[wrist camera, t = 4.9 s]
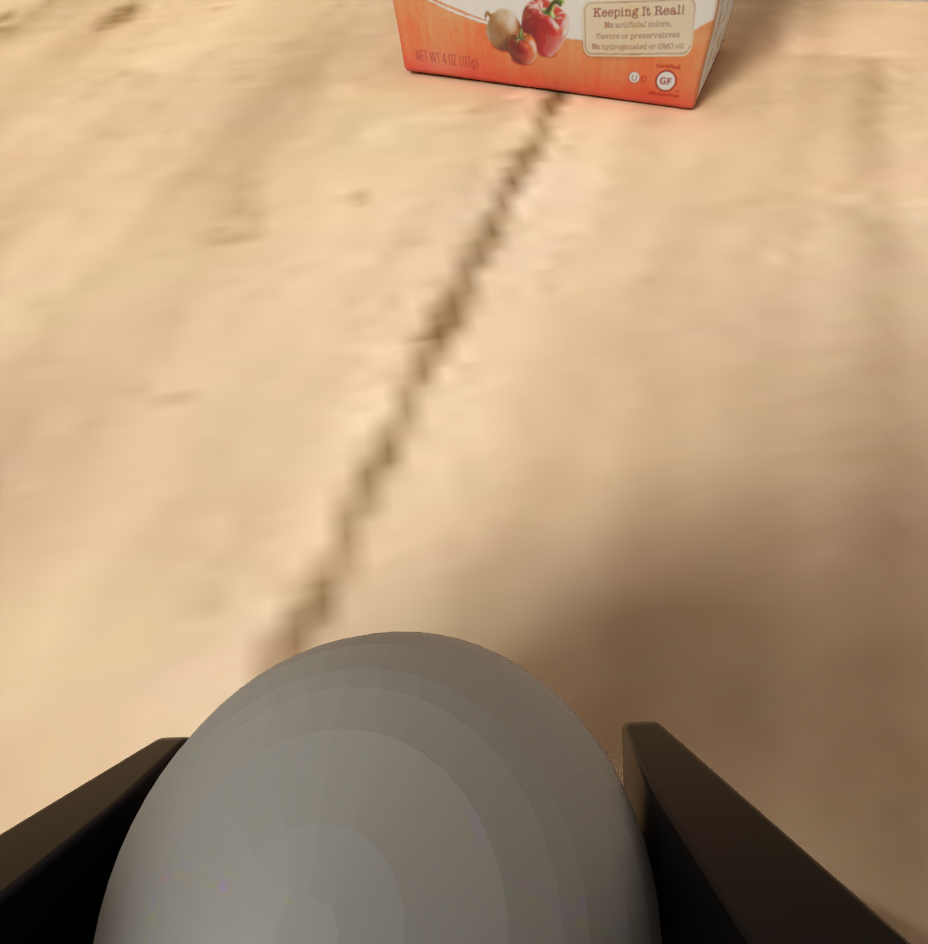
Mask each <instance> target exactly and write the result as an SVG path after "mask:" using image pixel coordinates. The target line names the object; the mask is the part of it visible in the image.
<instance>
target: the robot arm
mask: <svg viewBox="0 0 928 944" xmlns="http://www.w3.org/2000/svg"><path fill="white" fill-rule="evenodd" d="M188 739H189V737H173V738H161V739H158V740H156V741H155V742H153V743H151V744H150V745H148V746H146V747H145V748H143V749H141V750H140V751H138V752H136V753H135V754H133V755H131V756H130V757H128V758H126V759H125V760H123V761H121V762H120V763H118V764H116V765H115V766H113V767H112V768H110V769H108V770H107V771H105V772H103V773H102V774H100V775H98V776H97V777H95V778H93V779H92V780H90V781H88V782H87V783H85V784H83V785H82V786H80V787H78V788H77V789H75V790H73V791H72V792H70V793H69V794H67V795H65V796H64V797H62V798H60V799H59V800H57V801H55V802H54V803H52V804H50V805H49V806H47V807H45V808H44V809H42V810H40V811H39V812H37V813H35V814H34V815H32V816H30V817H29V818H27V819H26V820H24V821H22V822H21V823H19V824H17V825H16V826H14V827H12V828H11V829H9V830H7V831H6V832H4V833H2V834H1V835H0V944H93V942H94V937H95V932H96V927H97V923H98V918H99V913H100V909H101V906H102V902H103V899H104V895H105V892H106V888H107V885H108V881H109V879H110V876H111V873H112V871H113V868H114V865H115V862H116V860H117V857H118V854H119V851H120V849H121V847H122V845H123V842H124V840H125V838H126V836H127V834H128V831H129V829H130V827H131V825H132V823H133V821H134V819H135V817H136V815H137V813H138V811H139V810H140V808H141V806H142V804H143V802H144V800H145V798H146V797H147V795H148V794H149V792H150V790H151V789H152V787H153V786H154V784H155V783H156V781H157V779H158V778H159V776H160V775H161V773H162V772H163V771H164V769H165V768H166V766H167V765H168V764H169V762H170V761H171V760H172V758H173V757H174V756H175V754H176V753H177V752H178V751H179V749H180V748H181V747H182V746H183V745H184V744H185V742H186V741H187V740H188ZM622 740H623V779H624V789H625V791H626V793H627V796H628V798H629V800H630V802H631V805H632V807H633V809H634V812H635V815H636V817H637V820H638V823H639V826H640V829H641V832H642V835H643V837H644V840H645V844H646V848H647V852H648V856H649V860H650V863H651V867H652V871H653V877H654V882H655V888H656V894H657V899H658V906H659V916H660V927H661V937H662V944H910V943H909V942H908V941H907V940H906V939H905V938H904V937H902V936H901V935H900V934H899V933H898V932H897V931H896V930H894V929H893V928H892V927H891V926H890V925H889V924H888V923H886V922H885V921H884V920H883V919H882V918H881V917H880V916H878V915H877V914H876V913H875V912H874V911H873V910H872V909H870V908H869V907H868V906H867V905H866V904H865V903H864V902H862V901H861V900H860V899H859V898H858V897H857V896H856V895H854V894H853V893H852V892H851V891H850V890H849V889H848V888H846V887H845V886H844V885H843V884H842V883H841V882H840V881H838V880H837V879H836V878H835V877H834V876H833V875H832V874H830V873H829V872H828V871H827V870H826V869H825V868H824V867H822V866H821V865H820V864H819V863H818V862H817V861H816V860H814V859H813V858H812V857H811V856H810V855H809V854H808V853H806V852H805V851H804V850H803V849H802V848H801V847H800V846H798V845H797V844H796V843H795V842H794V841H793V840H792V839H790V838H789V837H788V836H787V835H786V834H785V833H784V832H782V831H781V830H780V829H779V828H778V827H777V826H776V825H774V824H773V823H772V822H771V821H770V820H769V819H768V818H766V817H765V816H764V815H763V814H762V813H761V812H760V811H758V810H757V809H756V808H755V807H754V806H753V805H752V804H750V803H749V802H748V801H747V800H746V799H745V798H744V797H742V796H741V795H740V794H739V793H738V792H737V791H736V790H734V789H733V788H732V787H731V786H730V785H729V784H728V783H726V782H725V781H724V780H723V779H722V778H721V777H720V776H718V775H717V774H716V773H715V772H714V771H713V770H712V769H710V768H709V767H708V766H707V765H706V764H705V763H704V762H702V761H701V760H700V759H699V758H698V757H697V756H696V755H694V754H693V753H692V752H691V751H690V750H689V749H688V748H686V747H685V746H684V745H683V744H682V743H681V742H680V741H678V740H677V739H676V738H675V737H674V736H673V735H672V734H670V733H669V732H668V731H667V730H666V729H665V728H664V727H662V726H661V725H660V724H658V723H656V722H628V723H626V724H625V725H624V727H623V731H622Z"/></svg>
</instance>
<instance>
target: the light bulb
mask: <svg viewBox="0 0 928 944" xmlns="http://www.w3.org/2000/svg"><path fill="white" fill-rule="evenodd" d="M93 944H662V937H661V927H660V916H659V906H658V899H657V894H656V888H655V882H654V877H653V871H652V867H651V863H650V860H649V856H648V852H647V848H646V844H645V840H644V837H643V835H642V832H641V829H640V826H639V823H638V820H637V817H636V815H635V812H634V809H633V807H632V805H631V802H630V800H629V798H628V796H627V793H626V791H625V789H624V787H623V784H622V782H621V780H620V779H619V777H618V775H617V773H616V771H615V770H614V768H613V766H612V764H611V762H610V761H609V759H608V757H607V756H606V754H605V753H604V751H603V750H602V748H601V747H600V745H599V744H598V742H597V741H596V739H595V738H594V736H593V735H592V733H591V732H590V731H589V730H588V728H587V727H586V726H585V725H584V723H583V722H582V721H581V720H580V719H579V717H578V716H577V715H576V714H575V713H574V712H573V711H572V710H571V709H570V707H569V706H568V705H567V704H566V703H565V702H564V701H563V700H562V699H561V698H560V697H559V696H558V695H557V694H555V693H554V692H553V691H552V690H551V689H550V688H549V687H547V686H546V685H545V684H544V683H543V682H542V681H540V680H539V679H538V678H536V677H535V676H533V675H532V674H531V673H529V672H528V671H526V670H525V669H523V668H522V667H521V666H519V665H517V664H515V663H514V662H512V661H510V660H508V659H507V658H505V657H503V656H501V655H499V654H497V653H495V652H492V651H490V650H488V649H486V648H483V647H481V646H479V645H476V644H472V643H469V642H466V641H463V640H460V639H456V638H452V637H447V636H443V635H438V634H430V633H421V632H386V633H374V634H368V635H363V636H357V637H352V638H346V639H341V640H337V641H334V642H330V643H327V644H323V645H320V646H317V647H314V648H312V649H309V650H306V651H304V652H301V653H299V654H297V655H295V656H293V657H291V658H289V659H286V660H284V661H282V662H280V663H278V664H277V665H275V666H273V667H272V668H270V669H268V670H267V671H265V672H263V673H262V674H260V675H258V676H257V677H256V678H254V679H253V680H251V681H250V682H249V683H247V684H246V685H245V686H243V687H242V688H240V689H239V690H238V691H237V692H235V693H234V694H233V695H232V696H231V697H230V698H228V699H227V700H226V701H225V702H224V703H223V704H221V705H220V706H219V707H218V708H217V709H216V710H215V711H214V712H213V713H212V714H211V715H210V716H209V717H208V718H207V719H206V720H205V721H204V722H203V723H202V724H201V725H200V726H199V727H198V729H197V730H196V731H195V732H194V733H193V734H192V735H191V737H190V738H189V739H188V740H187V741H186V742H185V744H184V745H183V746H182V747H181V748H180V749H179V751H178V752H177V753H176V754H175V756H174V757H173V758H172V760H171V761H170V762H169V764H168V765H167V766H166V768H165V769H164V771H163V772H162V773H161V775H160V776H159V778H158V779H157V781H156V783H155V784H154V786H153V787H152V789H151V790H150V792H149V794H148V795H147V797H146V798H145V800H144V802H143V804H142V806H141V808H140V810H139V811H138V813H137V815H136V817H135V819H134V821H133V823H132V825H131V827H130V829H129V831H128V834H127V836H126V838H125V840H124V842H123V845H122V847H121V849H120V851H119V854H118V857H117V860H116V862H115V865H114V868H113V871H112V873H111V876H110V879H109V881H108V885H107V888H106V892H105V895H104V899H103V902H102V906H101V909H100V913H99V918H98V923H97V927H96V932H95V937H94V942H93Z"/></svg>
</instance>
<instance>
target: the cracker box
mask: <svg viewBox="0 0 928 944" xmlns="http://www.w3.org/2000/svg"><path fill="white" fill-rule="evenodd" d="M393 2H394V8H395V13H396V19H397V24H398V29H399V35H400V41H401V47H402V53H403V59H404V65H405V68H406V70H407V71H416V72H424V73H432V74H439V75H447V76H455V77H462V78H469V79H477V80H484V81H492V82H499V83H506V84H513V85H521V86H528V87H536V88H544V89H551V90H558V91H565V92H572V93H579V94H587V95H595V96H603V97H609V98H616V99H623V100H630V101H638V102H645V103H652V104H659V105H666V106H673V107H680V108H693V107H694V105H695V103H696V101H697V98H698V96H699V94H700V92H701V90H702V88H703V85H704V83H705V81H706V79H707V76H708V74H709V72H710V69H711V67H712V65H713V63H714V60H715V58H716V56H717V54H718V51H719V49H720V47H721V45H722V43H723V41H724V37H725V34H726V30H727V27H728V23H729V19H730V15H731V11H732V7H733V3H734V0H393Z"/></svg>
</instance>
